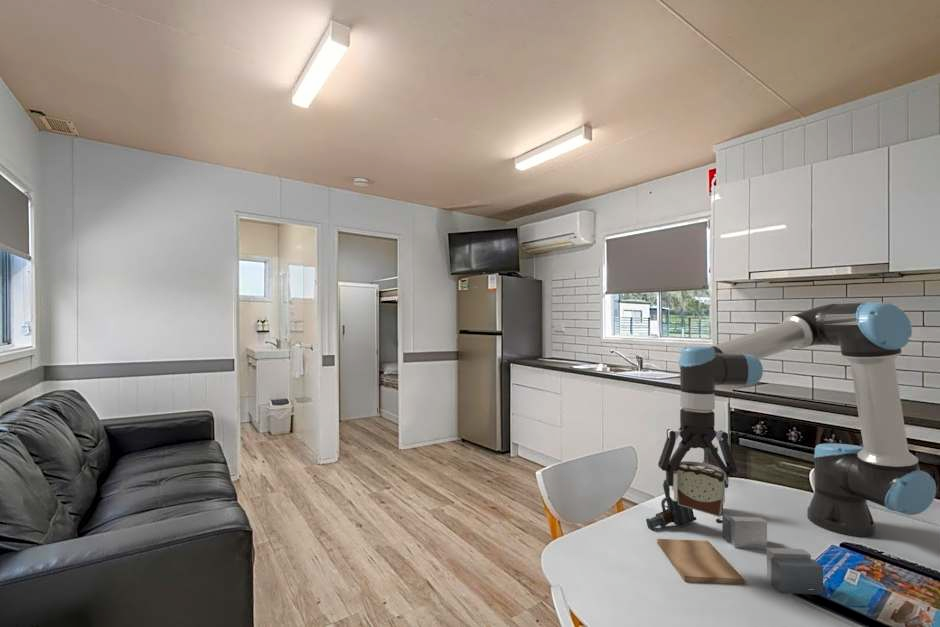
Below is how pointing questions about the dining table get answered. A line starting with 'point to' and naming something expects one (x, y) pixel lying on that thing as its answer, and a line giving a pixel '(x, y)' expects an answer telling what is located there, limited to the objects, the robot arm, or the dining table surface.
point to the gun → (671, 512)
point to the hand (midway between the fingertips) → (696, 499)
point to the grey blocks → (775, 556)
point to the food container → (700, 487)
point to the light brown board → (699, 561)
